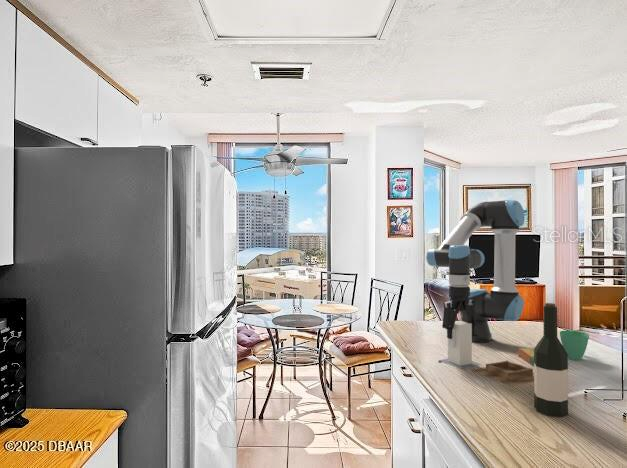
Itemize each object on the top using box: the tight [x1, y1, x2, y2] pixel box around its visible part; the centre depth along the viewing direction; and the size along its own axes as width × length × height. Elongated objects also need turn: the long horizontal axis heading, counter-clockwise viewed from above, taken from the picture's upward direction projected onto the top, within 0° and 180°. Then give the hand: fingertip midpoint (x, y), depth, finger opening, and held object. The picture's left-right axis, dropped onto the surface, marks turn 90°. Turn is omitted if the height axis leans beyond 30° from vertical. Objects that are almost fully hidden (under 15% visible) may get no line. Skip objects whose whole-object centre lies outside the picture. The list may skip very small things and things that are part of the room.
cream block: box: [447, 320, 473, 366], centre depth 156 cm, size 6×6×15 cm
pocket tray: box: [470, 360, 534, 388], centre depth 143 cm, size 18×18×3 cm
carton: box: [518, 348, 534, 368], centre depth 156 cm, size 8×16×4 cm, turn 175°
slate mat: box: [438, 358, 483, 370], centre depth 156 cm, size 11×11×1 cm
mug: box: [559, 329, 590, 361], centre depth 165 cm, size 15×10×10 cm
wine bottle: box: [533, 302, 569, 418], centre depth 115 cm, size 8×8×30 cm
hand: (459, 345), depth 156 cm, fingers open, 7 cm apart
